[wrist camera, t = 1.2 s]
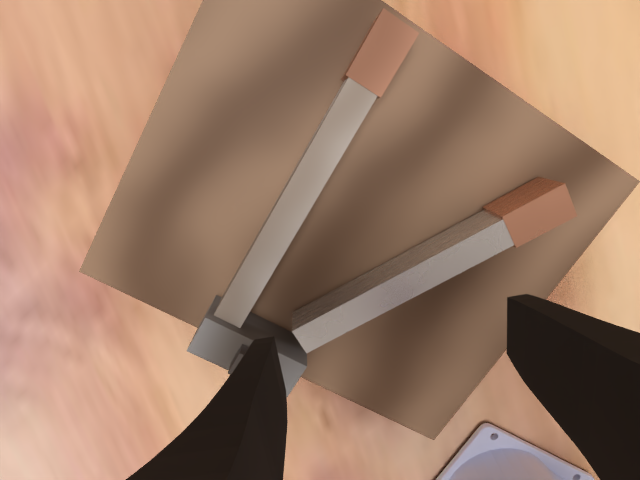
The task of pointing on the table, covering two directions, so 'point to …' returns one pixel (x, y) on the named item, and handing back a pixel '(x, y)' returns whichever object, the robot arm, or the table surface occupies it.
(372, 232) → the tongs board
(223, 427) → the robot arm
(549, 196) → the tong arm
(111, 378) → the table surface
